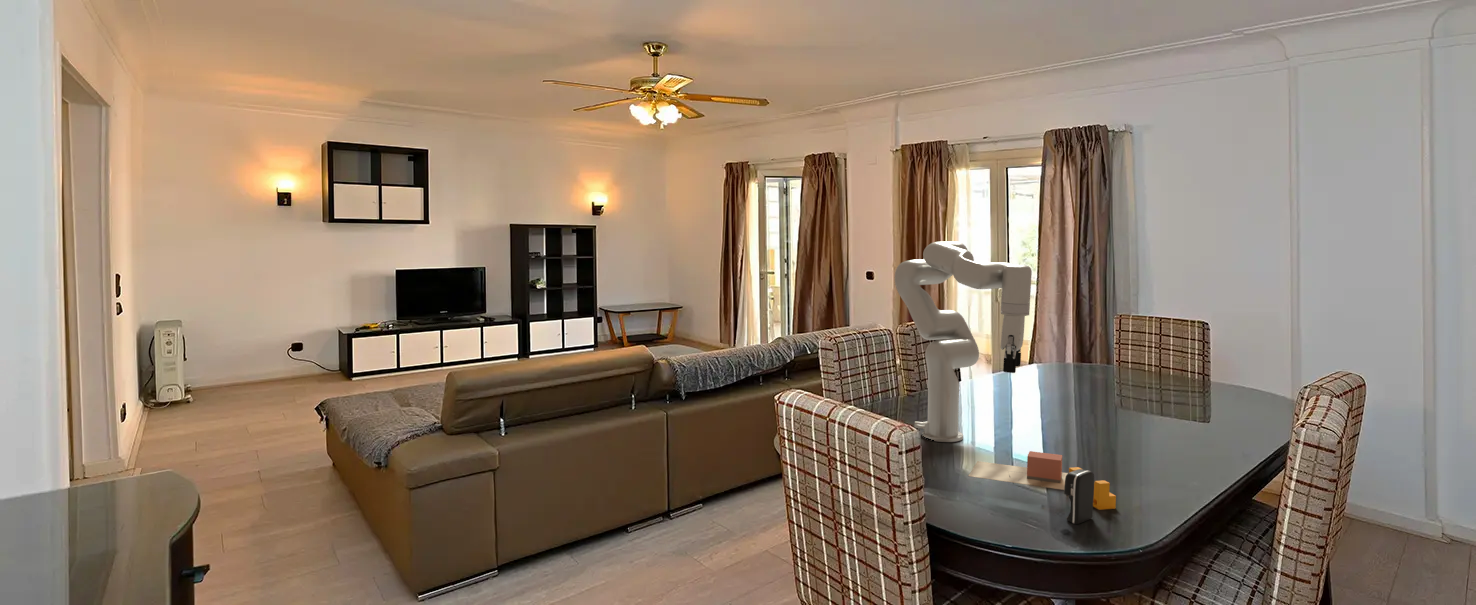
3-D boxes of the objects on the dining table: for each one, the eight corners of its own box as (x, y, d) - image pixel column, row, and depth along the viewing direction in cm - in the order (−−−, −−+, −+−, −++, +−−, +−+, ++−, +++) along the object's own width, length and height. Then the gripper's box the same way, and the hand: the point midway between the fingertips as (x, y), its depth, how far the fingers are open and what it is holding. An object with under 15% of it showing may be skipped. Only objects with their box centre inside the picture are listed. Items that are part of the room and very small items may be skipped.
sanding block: (1026, 478, 190) (1027, 456, 189) (1028, 473, 194) (1029, 451, 194) (1060, 483, 186) (1061, 460, 186) (1061, 477, 191) (1062, 455, 190)
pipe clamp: (1115, 508, 173) (1116, 482, 173) (1098, 510, 172) (1099, 483, 172) (1083, 491, 185) (1084, 466, 184) (1068, 492, 184) (1069, 467, 184)
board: (968, 481, 192) (968, 476, 192) (977, 466, 205) (977, 461, 205) (1067, 496, 181) (1067, 490, 181) (1070, 479, 194) (1071, 473, 194)
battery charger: (1077, 513, 170) (1079, 465, 169) (1093, 518, 167) (1095, 470, 166) (1060, 520, 166) (1062, 471, 165) (1076, 525, 163) (1078, 476, 162)
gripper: (1005, 304, 213) (1002, 362, 215) (996, 311, 198) (992, 373, 200) (1033, 306, 209) (1029, 364, 212) (1025, 313, 194) (1021, 376, 196)
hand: (1011, 369), depth 206 cm, fingers open, 9 cm apart
